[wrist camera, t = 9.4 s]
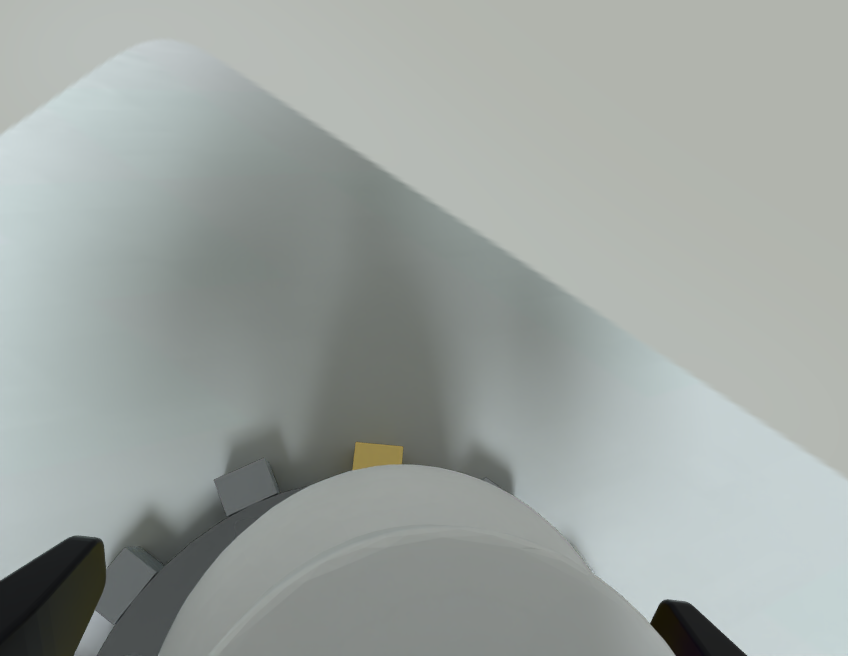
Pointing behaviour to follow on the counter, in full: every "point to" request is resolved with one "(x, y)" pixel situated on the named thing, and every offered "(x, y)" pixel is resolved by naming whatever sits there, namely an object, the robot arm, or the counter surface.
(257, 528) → the supplement bottle
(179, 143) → the counter surface
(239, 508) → the sprocket plate
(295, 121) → the counter surface
